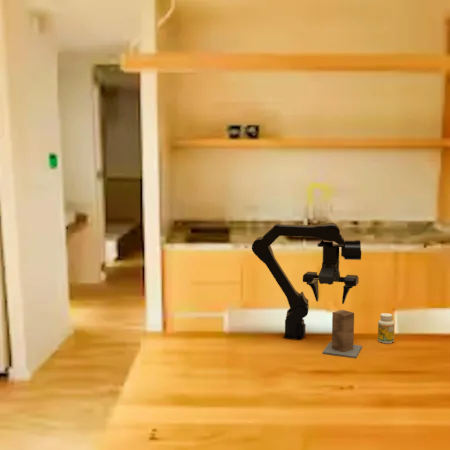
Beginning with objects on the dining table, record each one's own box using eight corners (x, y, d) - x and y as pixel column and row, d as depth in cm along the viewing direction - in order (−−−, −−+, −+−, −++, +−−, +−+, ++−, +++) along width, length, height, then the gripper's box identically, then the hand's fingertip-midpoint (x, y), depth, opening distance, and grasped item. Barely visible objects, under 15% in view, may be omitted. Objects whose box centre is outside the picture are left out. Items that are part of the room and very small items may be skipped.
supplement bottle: (396, 342, 205) (397, 315, 204) (385, 344, 202) (386, 317, 201) (386, 337, 210) (386, 311, 208) (374, 340, 207) (375, 313, 206)
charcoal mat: (322, 353, 194) (322, 351, 194) (330, 343, 204) (330, 341, 204) (356, 358, 190) (356, 356, 190) (362, 347, 200) (362, 345, 200)
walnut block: (331, 348, 197) (332, 312, 196) (341, 345, 200) (342, 309, 199) (343, 352, 193) (344, 315, 192) (353, 349, 196) (354, 312, 195)
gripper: (298, 261, 202) (298, 305, 204) (353, 265, 195) (352, 311, 197) (307, 255, 212) (306, 298, 214) (359, 259, 205) (358, 303, 207)
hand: (330, 302), depth 208 cm, fingers open, 9 cm apart
